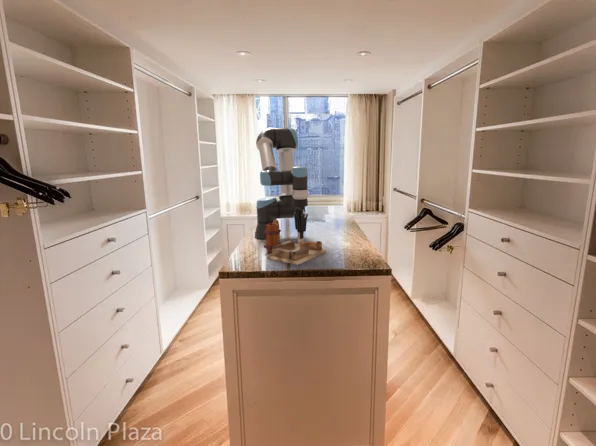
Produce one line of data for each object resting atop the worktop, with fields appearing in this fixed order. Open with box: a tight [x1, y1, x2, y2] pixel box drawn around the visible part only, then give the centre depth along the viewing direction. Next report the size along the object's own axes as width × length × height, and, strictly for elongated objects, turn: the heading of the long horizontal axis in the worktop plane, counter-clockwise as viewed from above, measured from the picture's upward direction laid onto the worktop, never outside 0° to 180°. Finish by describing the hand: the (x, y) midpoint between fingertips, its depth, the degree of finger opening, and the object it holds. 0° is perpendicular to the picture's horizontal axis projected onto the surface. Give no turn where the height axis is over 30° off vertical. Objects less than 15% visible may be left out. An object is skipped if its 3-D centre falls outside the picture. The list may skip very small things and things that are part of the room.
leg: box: [300, 240, 323, 250], centre depth 161 cm, size 11×3×4 cm, turn 84°
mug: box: [263, 219, 282, 254], centre depth 165 cm, size 15×8×15 cm, turn 168°
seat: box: [266, 239, 327, 266], centre depth 157 cm, size 18×24×5 cm
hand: (300, 244), depth 165 cm, fingers closed
